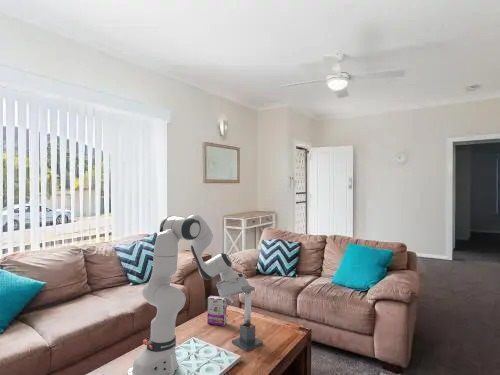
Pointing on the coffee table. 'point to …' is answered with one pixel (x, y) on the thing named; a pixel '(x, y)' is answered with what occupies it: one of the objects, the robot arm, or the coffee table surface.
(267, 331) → the coffee table surface
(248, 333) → the jack stand base
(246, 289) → the steel post
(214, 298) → the candy bar box
